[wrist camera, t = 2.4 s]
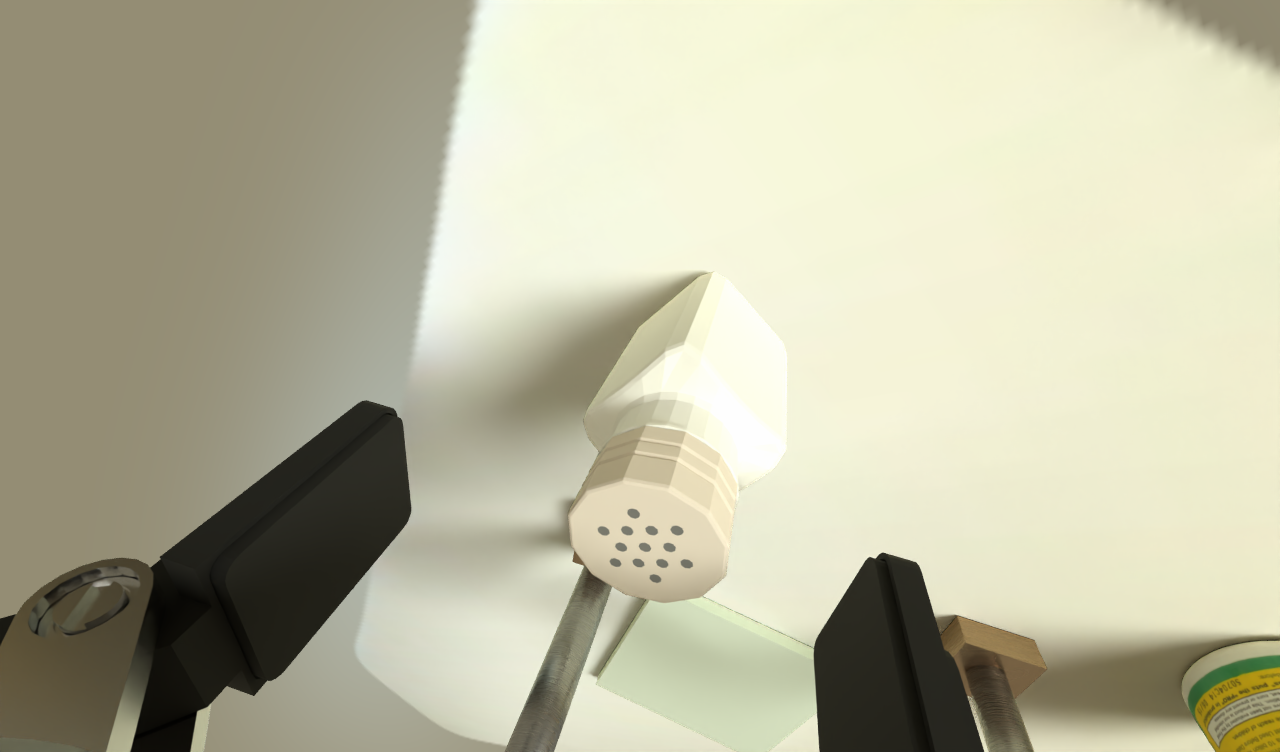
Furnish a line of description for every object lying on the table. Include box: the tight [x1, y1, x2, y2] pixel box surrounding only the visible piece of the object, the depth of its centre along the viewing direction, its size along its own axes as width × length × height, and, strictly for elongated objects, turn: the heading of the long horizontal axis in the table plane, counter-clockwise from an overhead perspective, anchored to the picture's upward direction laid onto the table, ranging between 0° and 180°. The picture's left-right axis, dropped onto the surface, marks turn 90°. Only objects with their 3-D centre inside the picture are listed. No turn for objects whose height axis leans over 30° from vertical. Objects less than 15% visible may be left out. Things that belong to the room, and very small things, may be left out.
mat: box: [596, 597, 817, 752], centre depth 26 cm, size 10×10×1 cm
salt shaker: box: [568, 272, 787, 603], centre depth 14 cm, size 4×4×10 cm
